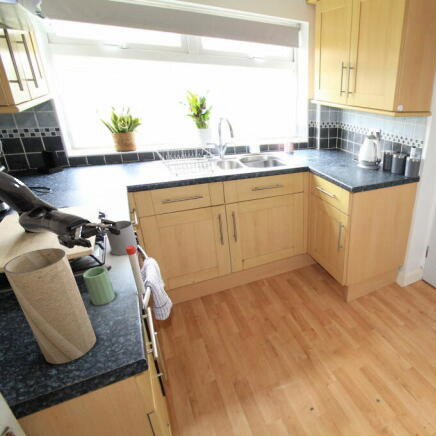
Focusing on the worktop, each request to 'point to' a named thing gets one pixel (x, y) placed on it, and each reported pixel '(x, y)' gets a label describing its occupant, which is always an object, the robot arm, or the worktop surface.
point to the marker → (135, 269)
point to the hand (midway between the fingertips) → (104, 238)
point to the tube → (51, 303)
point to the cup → (122, 238)
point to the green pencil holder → (99, 285)
